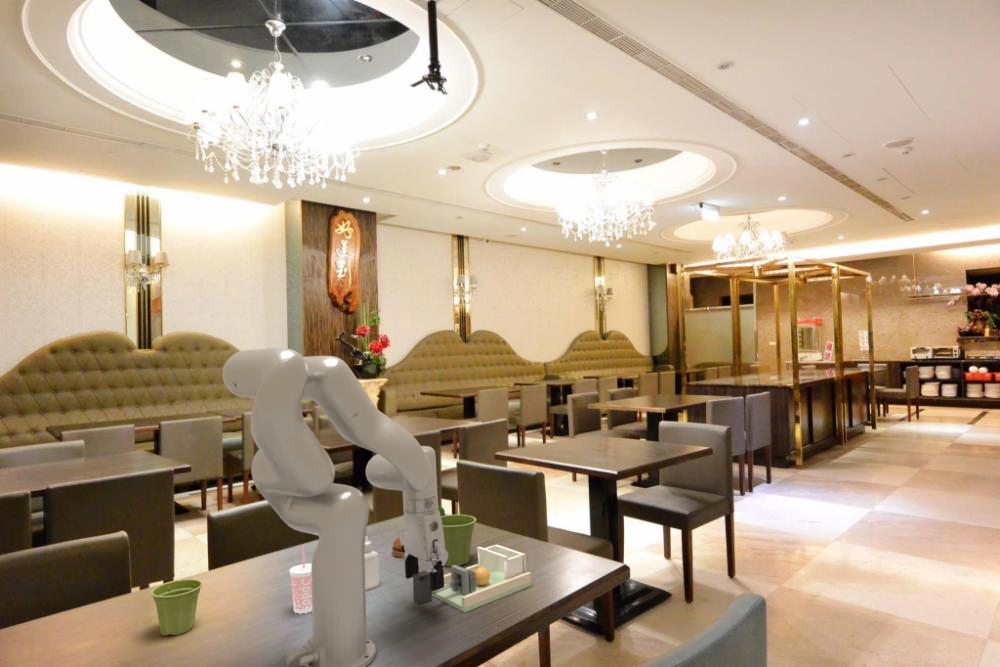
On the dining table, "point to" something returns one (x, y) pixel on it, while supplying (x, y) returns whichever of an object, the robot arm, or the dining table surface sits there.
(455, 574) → the pitch
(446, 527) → the plant pot
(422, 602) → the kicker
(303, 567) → the beverage cup
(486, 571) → the ball
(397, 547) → the burger
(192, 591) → the plant pot
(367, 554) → the eye dropper bottle
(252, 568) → the dining table surface
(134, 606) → the dining table surface
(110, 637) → the dining table surface
